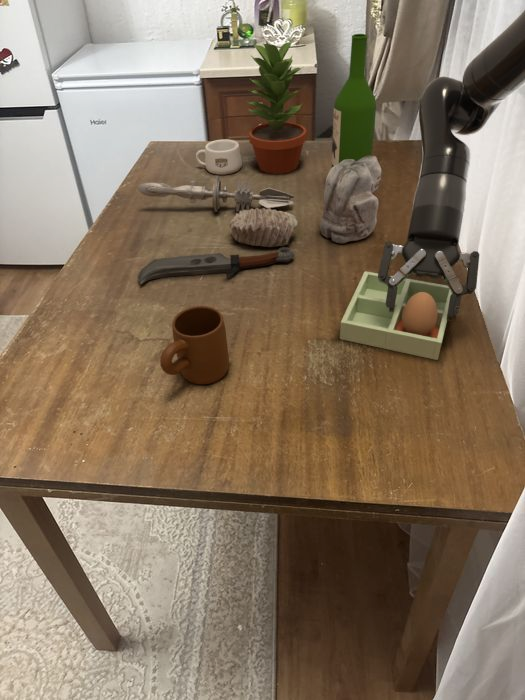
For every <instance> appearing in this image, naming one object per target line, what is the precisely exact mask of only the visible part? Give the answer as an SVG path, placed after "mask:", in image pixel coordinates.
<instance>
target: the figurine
mask: <svg viewBox="0 0 525 700" xmlns="http://www.w3.org/2000/svg"><path fill="white" fill-rule="evenodd" d="M381 179H382V168H381V165H380V161H378V158H377V157H376V156H375V155H373V154H372V155H368V156H365V157H363V158H361V159H360V160H358V161H357V162H356V161H355V160H353V159H346V160H343V161H342V162H340V163H339V164H338V165H336V166H334V167H332V166H331V167H330V170H329V172H328V174H327V176H326V179H325V183H324V190H323V205H324V207H323V213H322V216H321V219H320V224H319V225H320V226H319V230H320V233H321V235H322V236H324V237H325V238H326V239H331V241H332V242H334V243H335V244H347V243H348V242H355V241H359V240H363V239H366V238H367V237H368V236H370V235H371V234H372V232H374V230H375V227H376V225H377V215H378V209H379V199H378V198H377V196H376V195H374V194H373V193H374V192H375V191H376V190H378V189H379V182H380V181H381Z"/></svg>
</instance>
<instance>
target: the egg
mask: <svg viewBox="0 0 525 700" xmlns="http://www.w3.org/2000/svg"><path fill="white" fill-rule="evenodd" d="M437 314H438V313H437V306H436V303H435V300H434V299H433V297H432V296H431V295H430V294H428V293H426V292H419V293H416V294H414V295H413V296H412V297H411V298H410V299H409V301H408V302H407V303H406V305H405V307H404V310H403V314H402V322H403V326H404V328H405V330H406V331H407V332H408V333H412V334H417V335H422V336H425V335H427V334H428V333H429V332H430V331H431V330H432V329H433V328H434V326H435V324H436V320H437Z"/></svg>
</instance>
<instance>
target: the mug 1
mask: <svg viewBox="0 0 525 700" xmlns="http://www.w3.org/2000/svg"><path fill="white" fill-rule="evenodd" d="M171 328H172V338H173V342H170V343H169V344H168V345H167V346H165V348H163V351H162V352H161V355H160V359H159V363H160V367H161V369H162V371H163V372H164V373H165V374H166V375H169V376H170V375H171V376H174V375H178V374H180V373H181V375H182V377H183V378H184V379H185V380H187V382H190V383H192V384H196V385H209V384H212V383H215V382H218V381H219V380H221V379H222V378H224V377H225V376H226V374H227V372H228V370H229V369H230V368H229V367H230V358H229V357H230V356H229V348H228V339H227V332H226V331H227V330H226V324H225V320H224V317H223V314H222V313H221V311H219V310H217V309H216V308H214V307H211V306H206V305H196V306H195V305H194V306H191V307H188V308H185V309H183V310H181V311H180V312H178V313H177V314H176V315H174V317H173V319H172V323H171ZM175 355H176V357H177V359H175V360H174V361H173V358H174V357H175Z"/></svg>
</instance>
